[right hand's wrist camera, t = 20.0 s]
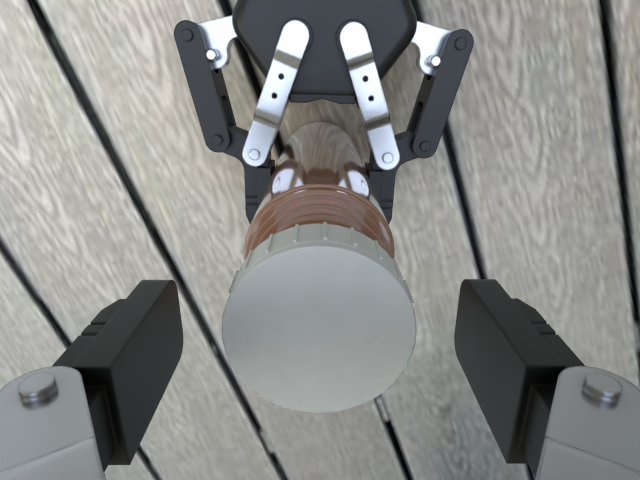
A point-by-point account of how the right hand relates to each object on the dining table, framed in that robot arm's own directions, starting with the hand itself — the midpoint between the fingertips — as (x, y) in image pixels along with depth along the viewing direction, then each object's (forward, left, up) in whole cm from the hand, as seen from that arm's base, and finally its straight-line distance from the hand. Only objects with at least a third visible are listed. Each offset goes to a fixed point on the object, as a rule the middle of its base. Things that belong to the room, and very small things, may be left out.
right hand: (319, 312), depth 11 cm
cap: (0, 0, +1) cm, 1 cm away
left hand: (-1, +3, -13) cm, 14 cm away
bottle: (0, 0, -20) cm, 20 cm away
